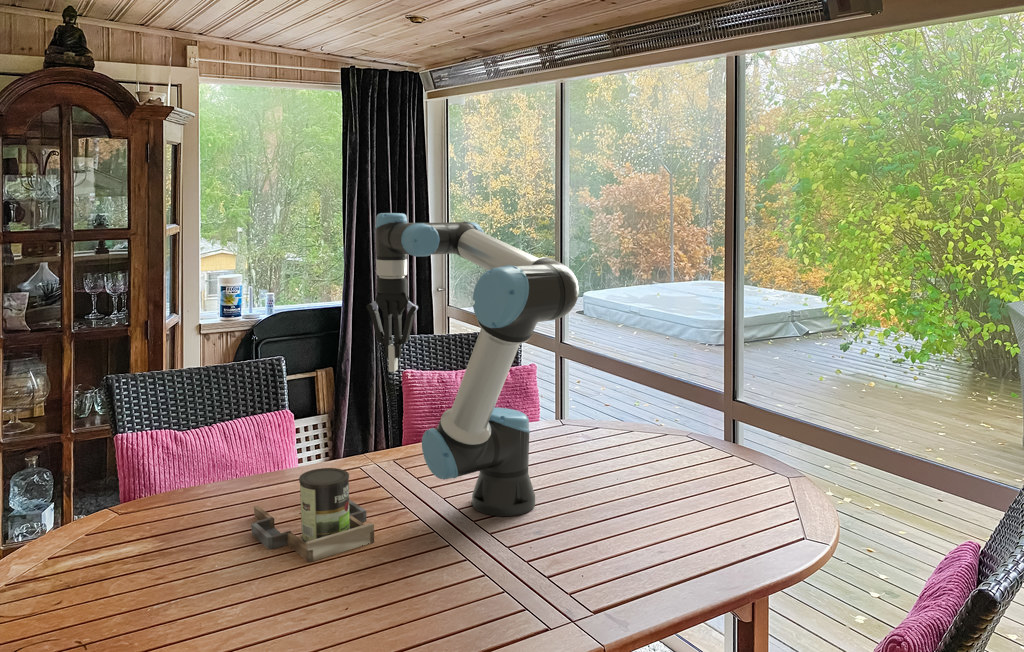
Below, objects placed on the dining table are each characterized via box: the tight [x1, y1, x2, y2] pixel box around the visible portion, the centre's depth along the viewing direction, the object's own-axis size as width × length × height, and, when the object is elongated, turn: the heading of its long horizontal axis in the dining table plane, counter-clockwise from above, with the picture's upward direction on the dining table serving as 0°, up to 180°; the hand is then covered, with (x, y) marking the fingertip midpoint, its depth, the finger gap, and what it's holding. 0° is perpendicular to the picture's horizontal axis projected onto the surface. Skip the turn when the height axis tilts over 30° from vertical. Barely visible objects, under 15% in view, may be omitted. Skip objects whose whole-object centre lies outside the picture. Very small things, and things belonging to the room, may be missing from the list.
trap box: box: [250, 499, 375, 563], centre depth 171 cm, size 28×23×4 cm
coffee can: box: [298, 467, 350, 543], centre depth 166 cm, size 10×10×14 cm
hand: (393, 370), depth 195 cm, fingers closed
